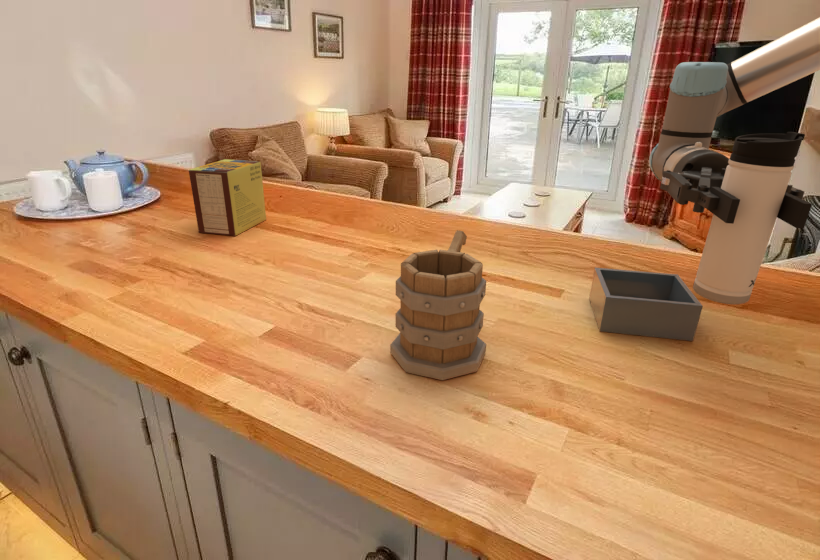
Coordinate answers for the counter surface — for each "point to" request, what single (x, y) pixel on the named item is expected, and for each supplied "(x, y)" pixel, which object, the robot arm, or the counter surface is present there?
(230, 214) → the protein box
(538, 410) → the counter surface
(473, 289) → the tankard
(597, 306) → the holder
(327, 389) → the counter surface
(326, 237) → the counter surface
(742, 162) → the travel mug
